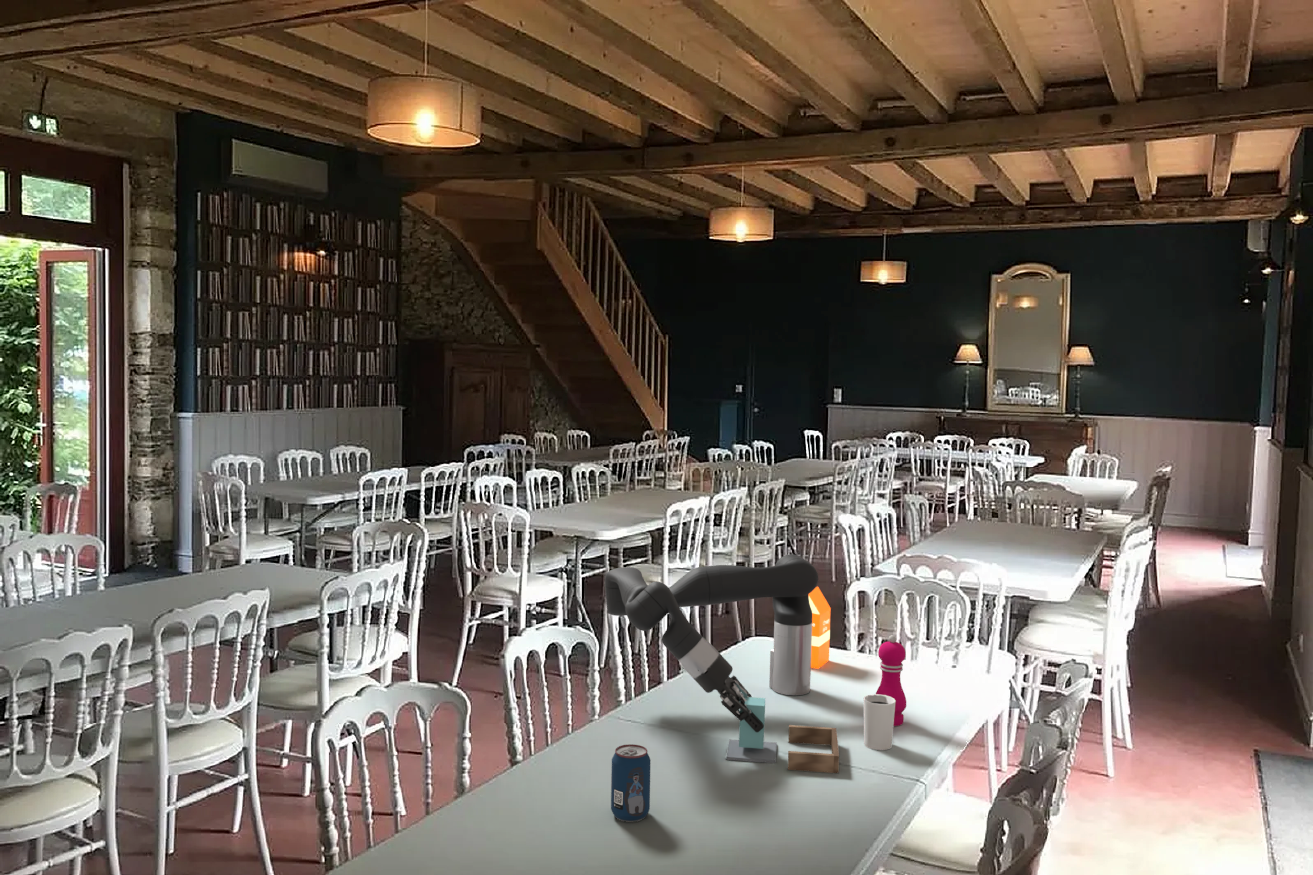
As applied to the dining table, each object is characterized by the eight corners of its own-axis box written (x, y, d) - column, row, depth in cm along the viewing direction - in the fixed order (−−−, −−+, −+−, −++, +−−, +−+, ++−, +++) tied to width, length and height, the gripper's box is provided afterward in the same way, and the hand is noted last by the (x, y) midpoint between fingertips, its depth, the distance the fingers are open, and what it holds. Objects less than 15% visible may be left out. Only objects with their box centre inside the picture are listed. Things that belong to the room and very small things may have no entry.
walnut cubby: (787, 769, 214) (788, 752, 213) (788, 740, 230) (788, 725, 229) (838, 773, 212) (839, 756, 212) (835, 744, 228) (836, 728, 228)
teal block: (738, 747, 220) (740, 704, 220) (740, 738, 225) (741, 696, 225) (763, 748, 220) (764, 706, 219) (763, 740, 225) (765, 698, 224)
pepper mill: (897, 729, 238) (900, 641, 236) (867, 722, 242) (870, 635, 240) (910, 721, 243) (914, 634, 242) (881, 714, 248) (884, 629, 246)
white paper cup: (894, 752, 224) (895, 705, 223) (861, 749, 226) (863, 703, 225) (893, 741, 231) (895, 695, 230) (862, 738, 232) (863, 693, 231)
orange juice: (790, 664, 286) (793, 590, 284) (802, 656, 293) (804, 584, 292) (818, 669, 282) (821, 594, 280) (829, 660, 290) (832, 587, 288)
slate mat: (726, 759, 218) (726, 756, 218) (729, 742, 228) (729, 739, 228) (775, 763, 217) (775, 760, 217) (776, 745, 227) (776, 742, 227)
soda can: (628, 803, 196) (629, 740, 195) (657, 814, 192) (658, 749, 191) (602, 816, 191) (603, 750, 190) (632, 827, 187) (633, 760, 186)
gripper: (695, 666, 230) (749, 724, 230) (688, 686, 216) (746, 749, 215) (720, 643, 229) (775, 701, 228) (715, 662, 215) (773, 725, 214)
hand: (761, 724), depth 222 cm, fingers closed on teal block, 5 cm apart
